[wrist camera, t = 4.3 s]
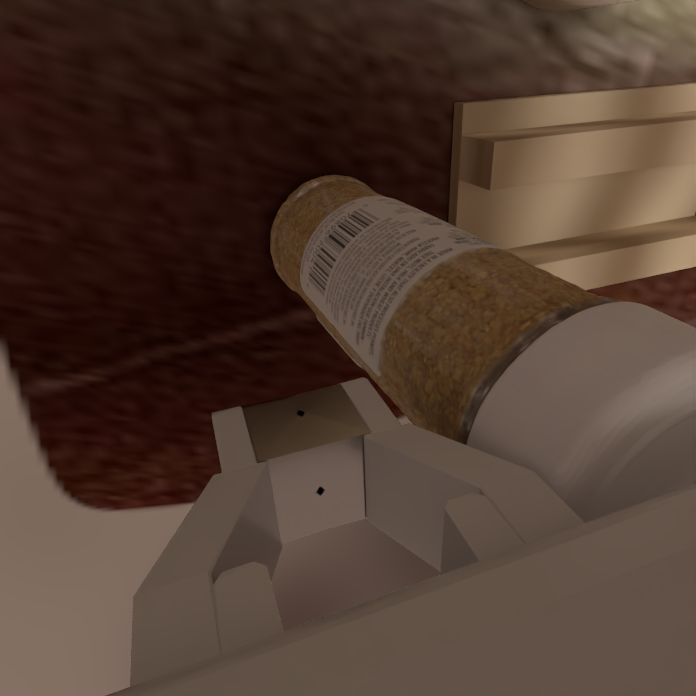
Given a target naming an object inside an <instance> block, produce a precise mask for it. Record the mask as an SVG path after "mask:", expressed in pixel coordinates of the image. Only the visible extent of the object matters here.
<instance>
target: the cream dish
mask: <svg viewBox="0 0 696 696" xmlns="http://www.w3.org/2000/svg"><path fill="white" fill-rule="evenodd" d="M523 1H524V2H526V3H527V4H529V5H531V6H533V7H535V8H538V9H541V10H545V11H549V12H564V11H571V10H578V9H584V8H591V7H597V6H604V5H610V4H617V3H624V2H630V1H637V0H523Z"/></svg>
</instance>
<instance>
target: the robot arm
mask: <svg viewBox="0 0 696 696" xmlns="http://www.w3.org/2000/svg"><path fill="white" fill-rule="evenodd" d="M212 421H213V427H214V432H215V438H216V443H217V448H218V454H219V459H220V464H221V470H222V473H220V474H216V475H213V476H212V478H211V479H210V481H209V483H208V484H207V486H206V487H205V489H204V490H203V492H202V493H201V495H200V496H199V498H198V499H197V501H196V502H195V504H194V505H193V507H192V509H191V510H190V511H189V513H188V514H187V516H186V517H185V519H184V521H183V522H182V524H181V525H180V527H179V528H178V530H177V531H176V533H175V534H174V536H173V537H172V539H171V540H170V542H169V543H168V545H167V546H166V548H165V549H164V551H163V552H162V554H161V556H160V557H159V559H158V560H157V562H156V563H155V565H154V566H153V568H152V569H151V571H150V572H149V574H148V575H147V577H146V578H145V580H144V581H143V583H142V584H141V586H140V587H139V589H138V591H137V592H136V594H135V595H134V597H133V622H132V650H131V677H130V687H128V688H126V689H123V690H120V691H118V692H114V693H112V694H109V695H106V696H696V483H694V484H692V485H689V486H686V487H683V488H680V489H678V490H675V491H672V492H669V493H667V494H664V495H661V496H658V497H655V498H653V499H650V500H647V501H644V502H642V503H639V504H636V505H633V506H631V507H628V508H625V509H622V510H619V511H617V512H614V513H611V514H608V515H606V516H603V517H600V518H597V519H594V520H592V521H589V522H586V523H584V522H583V521H582V520H581V519H580V518H579V517H578V516H577V514H576V513H575V512H574V511H573V510H572V509H571V508H570V507H569V506H568V505H567V504H566V503H565V502H564V501H563V500H562V499H561V498H560V497H559V496H558V495H557V494H556V493H555V492H554V491H553V490H552V489H551V488H550V487H549V486H548V485H547V484H546V483H545V482H544V481H543V480H542V479H541V478H540V477H539V476H538V475H537V474H536V473H535V471H532V470H530V469H527V468H525V467H522V466H519V465H517V464H514V463H511V462H509V461H506V460H504V459H501V458H498V457H496V456H493V455H490V454H488V453H485V452H483V451H480V450H477V449H475V448H472V447H470V446H467V445H464V444H462V443H459V442H456V441H454V440H451V439H449V438H446V437H443V436H441V435H438V434H435V433H433V432H430V431H428V430H425V429H422V428H420V427H417V426H415V425H412V424H409V423H408V424H405V425H401V424H400V422H399V421H398V420H397V418H396V417H395V416H394V414H393V413H392V412H391V410H390V409H389V408H388V406H387V405H386V404H385V402H384V401H383V400H382V398H381V397H380V395H379V394H378V393H377V391H376V390H375V389H374V387H373V386H372V385H371V383H370V382H369V381H368V379H366V378H364V377H362V378H358V379H355V380H351V381H347V382H344V383H340V384H338V385H334V386H330V387H326V388H322V389H318V390H314V391H310V392H306V393H302V394H298V395H291V396H286V397H281V398H277V399H272V400H267V401H263V402H258V403H253V404H248V405H244V406H242V408H241V407H240V406H238V407H234V408H230V409H226V410H221V411H217V412H213V413H212ZM366 518H367V521H368V522H370V523H371V524H372V525H374V526H375V527H377V528H378V529H380V530H381V531H383V532H384V533H385V534H387V535H388V536H390V537H391V538H393V539H394V540H395V541H397V542H398V543H400V544H401V545H403V546H404V547H406V548H407V549H408V550H410V551H411V552H413V553H414V554H416V555H417V556H419V557H420V558H422V559H423V560H424V561H426V562H427V563H429V564H430V565H431V566H433V567H435V568H436V569H438V570H439V571H440V575H439V576H436V577H433V578H431V579H428V580H425V581H422V582H420V583H417V584H414V585H411V586H408V587H406V588H403V589H400V590H397V591H395V592H392V593H389V594H386V595H383V596H381V597H378V598H375V599H372V600H370V601H367V602H364V603H361V604H359V605H356V606H353V607H350V608H347V609H345V610H342V611H339V612H336V613H334V614H331V615H328V616H325V617H322V618H320V619H317V620H314V621H311V622H309V623H306V624H303V625H301V626H297V627H295V628H292V629H289V630H286V631H283V628H282V624H281V620H280V616H279V612H278V608H277V604H276V600H275V596H274V592H273V588H272V584H271V580H272V577H273V574H274V571H275V568H276V565H277V562H278V559H279V556H280V553H281V550H282V544H286V543H288V542H291V541H294V540H297V539H300V538H303V537H306V536H309V535H312V534H315V533H318V532H321V531H323V530H327V529H331V528H334V527H338V526H341V525H345V524H348V523H352V522H355V521H359V520H362V519H366Z"/></svg>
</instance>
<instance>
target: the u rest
mask: <svg viewBox="0 0 696 696" xmlns="http://www.w3.org/2000/svg"><path fill="white" fill-rule="evenodd" d="M448 223H449V224H451V225H453V226H455V227H457V228H460V229H462V230H464V231H466V232H468V233H471V234H473V235H475V236H477V237H479V238H481V239H484V240H486V241H488V242H490V243H492V244H494V245H497V246H499V247H501V248H503V249H505V250H507V251H509V252H511V253H513V254H515V255H517V256H518V257H520V258H521V259H522V260H524V261H526V262H527V263H529V264H531V265H533V266H535V267H537V268H540V269H543V270H545V271H547V272H549V273H551V274H553V275H554V276H557V277H559V278H561V279H563V280H566V281H568V282H570V283H572V284H575V285H577V286H579V287H581V288H582V289H584V290H588V289H593V288H598V287H602V286H607V285H612V284H616V283H621V282H626V281H630V280H635V279H640V278H644V277H649V276H654V275H658V274H663V273H668V272H672V271H677V270H682V269H686V268H691V267H696V82H691V83H679V84H668V85H656V86H644V87H632V88H621V89H609V90H597V91H585V92H574V93H562V94H550V95H538V96H526V97H515V98H503V99H491V100H479V101H468V102H456V103H454V121H453V140H452V159H451V178H450V197H449V216H448Z"/></svg>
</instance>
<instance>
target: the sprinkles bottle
mask: <svg viewBox="0 0 696 696" xmlns="http://www.w3.org/2000/svg"><path fill="white" fill-rule="evenodd" d="M270 246H271V249H270V252H271V255H272V258H273V263H274V266H275V269H276V272H277V273H278V275H279V276H280V278H281V279H282V280H283V281H284V282H285V283H286V285H287V286H288V287H289V288H290V289H291V290H293V291H295V292H297V293H298V294H299V295H300V296H301V297H302V298H303V300H304V301H306V303H307V304H308V305H309V306H310V308H311V309H312V310H313V311H314V312H315V314H316V317H317V319H318V320H319V322H320V323H321V324H322V325H323V326H324V327H325V329H326V330H327V331H328V332H329V333H330V334H331V336H332V337H333V338H334V339H335V340H336V341H337V343H338V344H339V345H340V346H341V347H342V348H343V349H344V351H345V352H346V353H347V354H348V355H349V356H350V358H351V359H352V360H353V361H354V362H355V363H356V364H357V365H358V366H360V367H361V368H363V369H364V370H365V371H366V372H367V373H368V374H369V375H370V377H371V378H372V379H373V380H374V381H375V382H376V383H377V384H378V385H379V386H380V388H381V389H382V390H383V391H384V392H385V393H386V394H387V395H388V396H389V397H390V398H391V399H392V401H393V402H394V403H395V404H396V405H397V406H398V407H399V408H400V410H401V411H402V412H403V413H404V414H405V415H406V416H407V418H408V419H409V420H410V421H411V423H412V424H413V425H415V426H417V427H420V428H422V429H425V430H428V431H430V432H433V433H435V434H438V435H441V436H443V437H446V438H449V439H451V440H454V441H456V442H459V443H462V444H464V445H467V446H470V447H472V448H475V449H477V450H480V451H483V452H485V453H488V454H490V455H493V456H496V457H498V458H501V459H504V460H506V461H509V462H511V463H514V464H517V465H519V466H522V467H525V468H527V469H530V470H532V471H535V473H536V474H537V475H538V476H539V477H540V478H541V479H542V480H543V481H544V482H545V483H546V484H547V485H548V486H549V487H550V488H551V489H552V490H553V491H554V492H555V493H556V494H557V495H558V496H559V497H560V498H561V499H562V500H563V501H564V502H565V503H566V504H567V505H568V506H569V507H570V508H571V509H572V510H573V511H574V512H575V513H576V514H577V516H578V517H579V518H580V519H581V520H582V521H583V522H584V523H586V522H589V521H592V520H594V519H597V518H600V517H603V516H606V515H608V514H611V513H614V512H617V511H619V510H622V509H625V508H628V507H631V506H633V505H636V504H639V503H642V502H644V501H647V500H650V499H653V498H655V497H658V496H661V495H664V494H667V493H669V492H672V491H675V490H678V489H680V488H683V487H686V486H689V485H692V484H694V483H696V328H694V327H692V326H690V325H688V324H685V323H683V322H681V321H679V320H677V319H675V318H672V317H670V316H668V315H666V314H664V313H661V312H659V311H657V310H655V309H653V308H650V307H648V306H646V305H642V304H638V303H633V302H624V301H622V300H618V299H614V298H606V297H602V296H597V295H595V294H592V293H589V292H587V291H585V290H584V289H582V288H581V287H579V286H577V285H575V284H572V283H570V282H568V281H566V280H563V279H561V278H559V277H557V276H554V275H553V274H551V273H549V272H547V271H545V270H543V269H540V268H537V267H535V266H533V265H531V264H529V263H527V262H526V261H524V260H522V259H521V258H520V257H518V256H517V255H515V254H513V253H511V252H509V251H507V250H505V249H503V248H501V247H499V246H497V245H494V244H492V243H490V242H488V241H486V240H484V239H481V238H479V237H477V236H475V235H473V234H471V233H468V232H466V231H464V230H462V229H460V228H457V227H455V226H453V225H451V224H449V223H447V222H445V221H443V220H440V219H438V218H436V217H434V216H432V215H430V214H428V213H425V212H423V211H421V210H419V209H417V208H414V207H412V206H410V205H408V204H405V203H403V202H401V201H398V200H396V199H393V198H389V197H385V196H383V195H380V194H378V193H376V192H374V191H373V190H372V189H371V188H370V187H368V186H367V185H366V184H365V183H363V182H360V181H359V180H357V179H355V178H352V177H349V176H341V175H328V176H321V177H319V178H316V179H312V180H310V181H308V182H306V183H303V184H302V185H301V186H300V187H299V188H297V189H296V190H295V191H293V192H292V193H291V194H290V195H289V196H288V198H287V200H286V201H285V202H284V203H283V204H282V205H281V207H280V209H279V211H278V212H277V215H276V218H275V220H274V222H273V225H272V229H271V239H270Z"/></svg>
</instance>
